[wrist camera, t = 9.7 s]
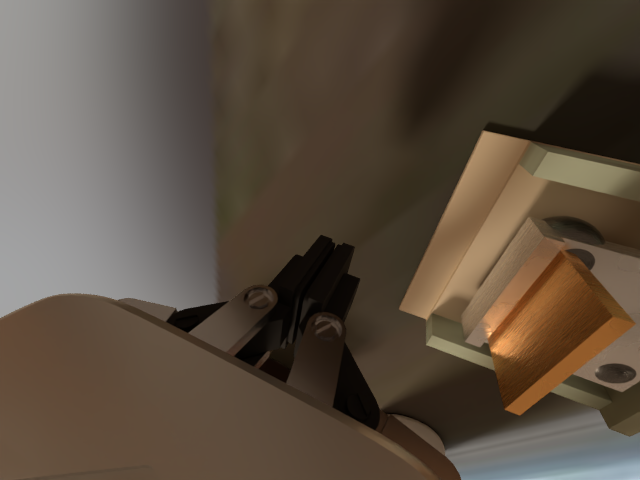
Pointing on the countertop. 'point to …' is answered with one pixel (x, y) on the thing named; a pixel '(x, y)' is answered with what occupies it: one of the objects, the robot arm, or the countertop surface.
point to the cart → (558, 311)
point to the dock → (500, 229)
